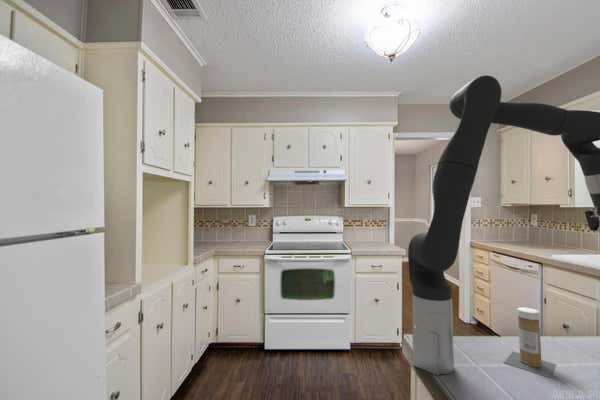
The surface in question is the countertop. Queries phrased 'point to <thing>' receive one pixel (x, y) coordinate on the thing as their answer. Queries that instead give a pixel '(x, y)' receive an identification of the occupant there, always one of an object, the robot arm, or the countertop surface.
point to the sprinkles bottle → (529, 336)
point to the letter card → (542, 370)
